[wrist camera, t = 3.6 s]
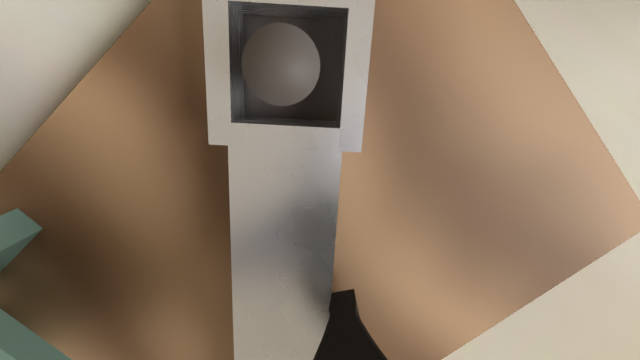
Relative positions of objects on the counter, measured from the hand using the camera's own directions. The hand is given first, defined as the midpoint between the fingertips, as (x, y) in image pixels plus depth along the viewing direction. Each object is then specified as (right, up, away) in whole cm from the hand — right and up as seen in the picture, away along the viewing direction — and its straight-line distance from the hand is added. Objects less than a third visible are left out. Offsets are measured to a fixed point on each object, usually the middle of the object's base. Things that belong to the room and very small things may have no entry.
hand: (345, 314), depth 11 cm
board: (-2, +3, +1) cm, 4 cm away
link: (-2, +3, 0) cm, 3 cm away
